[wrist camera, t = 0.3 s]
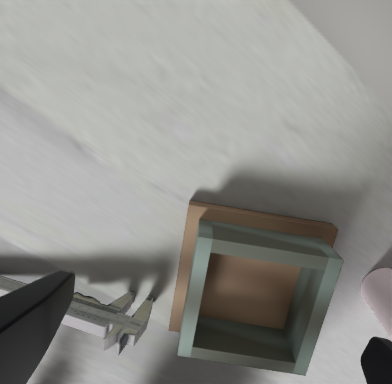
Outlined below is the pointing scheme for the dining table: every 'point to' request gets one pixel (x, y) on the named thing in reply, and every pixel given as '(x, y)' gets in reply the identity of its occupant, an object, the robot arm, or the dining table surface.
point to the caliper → (101, 316)
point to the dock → (253, 287)
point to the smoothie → (379, 296)
